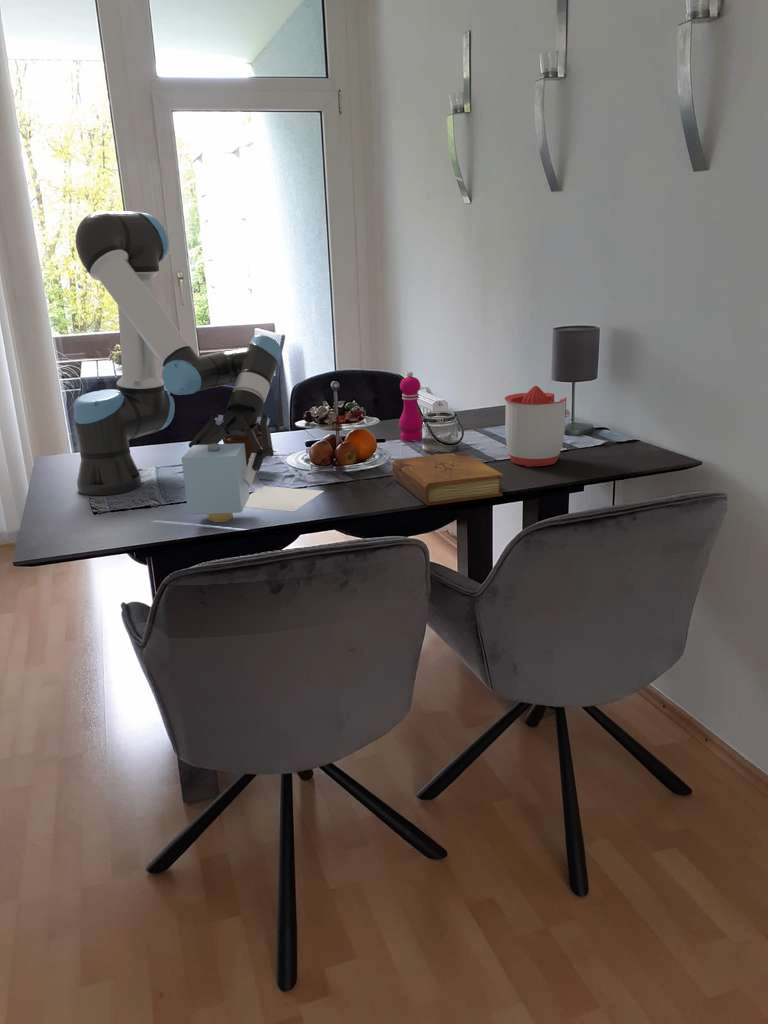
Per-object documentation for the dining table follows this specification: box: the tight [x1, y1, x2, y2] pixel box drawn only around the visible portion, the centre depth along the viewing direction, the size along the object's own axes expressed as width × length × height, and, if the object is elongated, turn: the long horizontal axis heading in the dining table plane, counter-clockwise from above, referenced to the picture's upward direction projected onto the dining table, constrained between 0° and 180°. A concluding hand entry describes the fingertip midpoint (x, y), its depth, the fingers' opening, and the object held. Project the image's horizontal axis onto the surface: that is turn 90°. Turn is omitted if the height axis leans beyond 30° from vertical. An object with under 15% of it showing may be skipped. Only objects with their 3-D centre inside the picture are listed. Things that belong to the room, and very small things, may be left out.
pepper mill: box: [398, 371, 424, 442], centre depth 238 cm, size 7×7×20 cm
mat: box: [244, 485, 325, 512], centre depth 187 cm, size 16×16×1 cm
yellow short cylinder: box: [207, 513, 234, 523], centre depth 173 cm, size 5×5×4 cm
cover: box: [181, 443, 250, 515], centre depth 170 cm, size 11×11×13 cm
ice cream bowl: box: [222, 425, 263, 465], centre depth 210 cm, size 11×11×15 cm
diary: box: [392, 451, 504, 507], centre depth 191 cm, size 23×19×6 cm
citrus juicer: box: [504, 385, 571, 468], centre depth 209 cm, size 16×17×20 cm
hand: (219, 481), depth 172 cm, fingers closed on cover, 13 cm apart
